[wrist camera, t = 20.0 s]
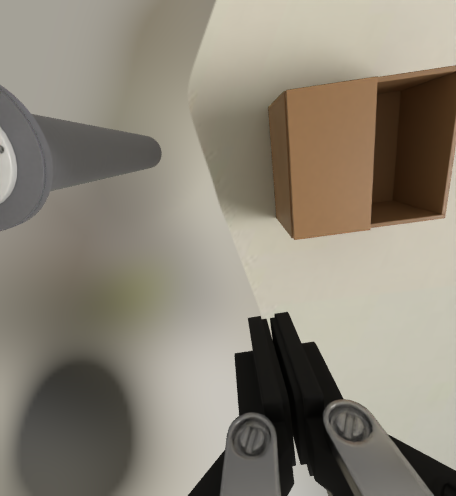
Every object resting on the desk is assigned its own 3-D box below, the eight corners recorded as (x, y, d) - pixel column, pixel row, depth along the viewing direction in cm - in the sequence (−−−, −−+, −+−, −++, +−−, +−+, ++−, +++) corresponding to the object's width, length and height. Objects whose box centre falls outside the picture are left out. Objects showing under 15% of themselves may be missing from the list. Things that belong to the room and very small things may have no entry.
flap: (293, 239, 26) (294, 240, 26) (285, 90, 22) (286, 89, 21) (368, 229, 26) (370, 229, 25) (375, 77, 21) (378, 76, 21)
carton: (276, 218, 34) (291, 238, 26) (267, 106, 30) (283, 91, 22) (393, 202, 34) (445, 218, 26) (402, 87, 29) (467, 63, 21)
